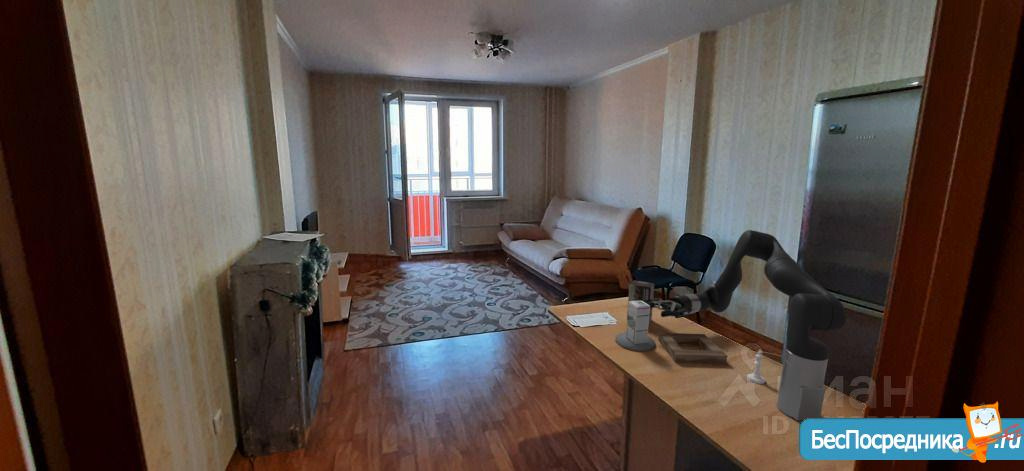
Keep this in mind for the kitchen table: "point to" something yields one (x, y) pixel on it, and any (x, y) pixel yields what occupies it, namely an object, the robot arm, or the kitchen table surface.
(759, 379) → the chess piece
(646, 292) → the coffee box
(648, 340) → the slate mat
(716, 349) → the walnut holder
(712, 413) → the kitchen table surface
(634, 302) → the syrup box
